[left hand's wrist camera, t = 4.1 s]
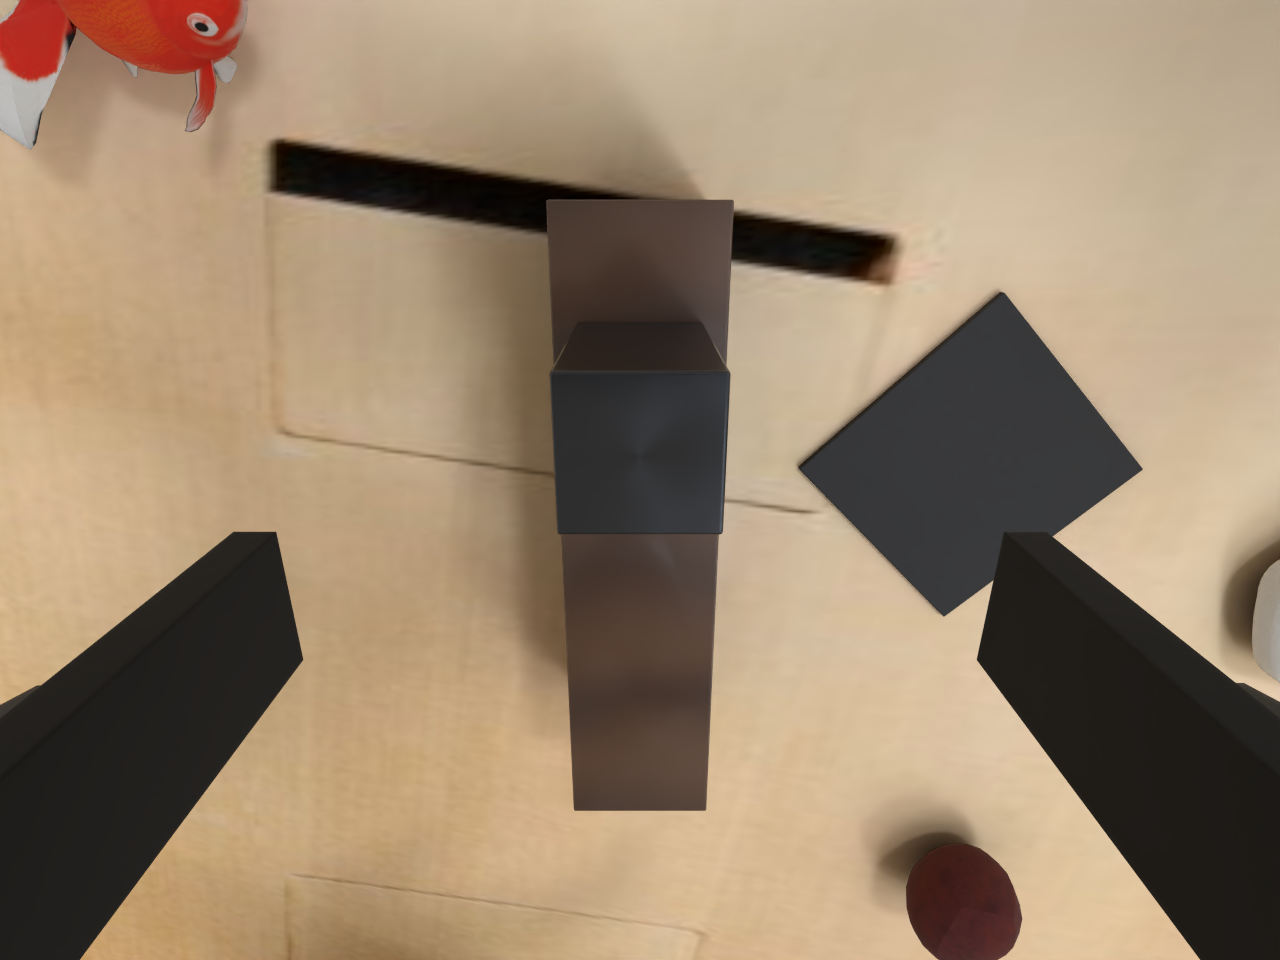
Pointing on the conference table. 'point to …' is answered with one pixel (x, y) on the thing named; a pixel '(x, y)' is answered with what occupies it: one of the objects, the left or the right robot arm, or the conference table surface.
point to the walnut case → (639, 563)
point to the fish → (113, 48)
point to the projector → (1268, 623)
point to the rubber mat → (971, 456)
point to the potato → (963, 904)
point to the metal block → (639, 429)
